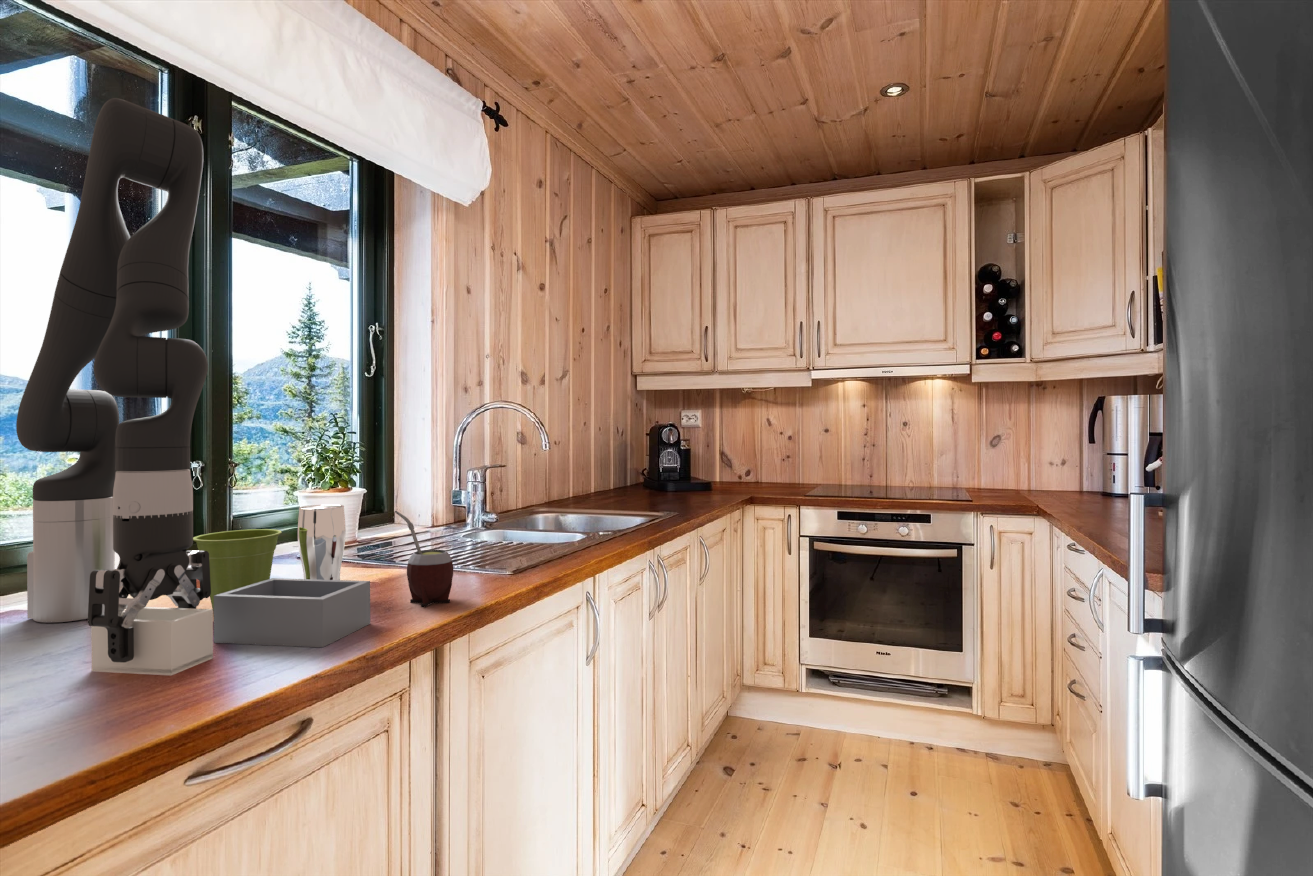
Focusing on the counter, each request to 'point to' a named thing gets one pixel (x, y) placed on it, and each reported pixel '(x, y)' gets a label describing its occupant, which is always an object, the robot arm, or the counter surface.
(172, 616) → the white crate
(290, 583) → the slate crate
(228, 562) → the plant pot
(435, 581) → the mate gourd
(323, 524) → the beer glass
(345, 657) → the counter surface
